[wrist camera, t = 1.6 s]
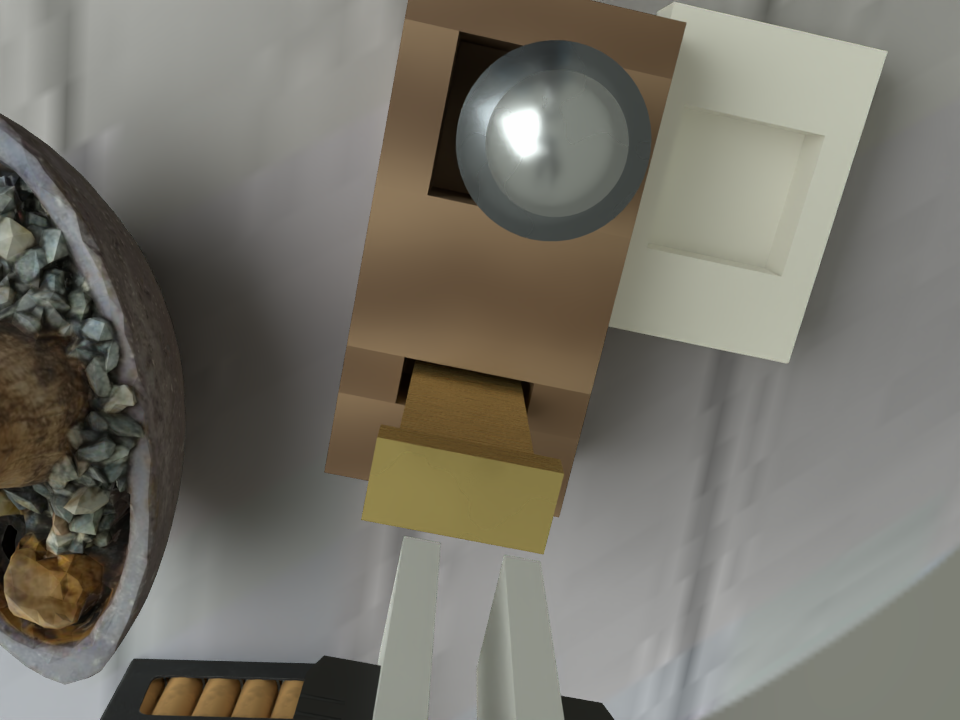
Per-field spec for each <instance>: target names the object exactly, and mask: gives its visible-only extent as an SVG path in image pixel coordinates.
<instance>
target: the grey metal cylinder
mask: <svg viewBox="0 0 960 720" xmlns="http://www.w3.org/2000/svg"><path fill="white" fill-rule="evenodd" d="M650 152H651V125H650V119H649V114H648V110H647V107H646V104H645V102H644V99H643V97H642V95H641V93H640V91H639V89H638V87H637V86H636V84H635V83H634V81H633V80H632V78H631V77H630V76H629V74H628V73H627V72H626V71H625V70H624V69H623V68H622V67H621V66H620V65H619V64H618V63H617V62H616V61H614V60H613V59H612V58H610V57H609V56H607V55H606V54H604V53H603V52H601V51H599V50H597V49H595V48H592V47H590V46H587V45H584V44H581V43H577V42H572V41H565V40H547V41H539V42H535V43H531V44H527V45H524V46H522V47H519V48H517V49H514V50H512V51H510V52H509V53H507V54H505V55H504V56H502V57H500V58H499V59H498V60H497V61H495V62H494V63H493V64H492V65H490V66H489V67H488V68H487V69H486V70H485V71H484V72H483V73H482V74H481V76H480V77H479V78H478V80H477V81H476V82H475V84H474V85H473V86H472V88H471V90H470V92H469V94H468V95H467V97H466V99H465V102H464V104H463V107H462V109H461V113H460V116H459V120H458V125H457V133H456V153H457V161H458V166H459V170H460V173H461V176H462V179H463V181H464V184H465V186H466V188H467V190H468V192H469V194H470V196H471V197H472V199H473V200H474V202H475V203H476V204H477V206H478V207H479V208H480V209H481V210H482V211H483V212H484V213H485V214H486V215H487V216H488V217H489V218H490V219H491V220H492V221H494V222H495V223H496V224H497V225H499V226H501V227H502V228H504V229H506V230H507V231H509V232H511V233H514V234H516V235H518V236H521V237H525V238H528V239H532V240H539V241H564V240H571V239H575V238H578V237H582V236H584V235H587V234H589V233H592V232H594V231H596V230H598V229H599V228H601V227H603V226H605V225H606V224H607V223H609V222H610V221H611V220H613V219H614V218H615V217H616V216H617V215H618V214H619V213H621V212H622V211H623V210H624V208H625V207H626V206H627V205H628V204H629V202H630V201H631V200H632V198H633V197H634V195H635V194H636V192H637V190H638V189H639V187H640V185H641V183H642V180H643V178H644V176H645V173H646V170H647V167H648V163H649V158H650Z"/></svg>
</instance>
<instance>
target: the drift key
mask: <svg viewBox="0 0 960 720" xmlns="http://www.w3.org/2000/svg"><path fill="white" fill-rule="evenodd" d="M563 476H564V471H563V467H562V463H561V459H556V458H551V457H546V456H541V455H536V454H534V452H533V447H532V441H531V435H530V430H529V424H528V419H527V413H526V408H525V402H524V397H523V391H522V386H521V381H519V380H514V379H509V378H505V377H500V376H495V375H490V374H485V373H480V372H475V371H470V370H465V369H460V368H455V367H450V366H445V365H440V364H435V363H430V362H425V361H420V360H415V364H414V369H413V373H412V377H411V382H410V386H409V390H408V395H407V399H406V403H405V408H404V412H403V416H402V420H401V425H400V428H398V427H393V426H388V425H383V424H381V426H380V429H379V433H378V436H377V441H376V446H375V451H374V456H373V461H372V466H371V472H370V477H369V482H368V487H367V492H366V498H365V503H364V508H363V513H362V518H361V520H364V521H370V522H375V523H380V524H386V525H391V526H396V527H402V528H407V529H412V530H417V531H423V532H428V533H433V534H439V535H444V536H449V537H454V538H460V539H465V540H470V541H476V542H481V543H486V544H491V545H497V546H502V547H507V548H513V549H518V550H523V551H529V552H534V553H539V554H544V550H545V547H546V543H547V539H548V535H549V531H550V527H551V523H552V519H553V515H554V511H555V508H556V504H557V500H558V496H559V492H560V488H561V484H562V480H563Z"/></svg>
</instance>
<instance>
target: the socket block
mask: <svg viewBox="0 0 960 720" xmlns="http://www.w3.org/2000/svg"><path fill="white" fill-rule="evenodd" d="M686 24H687V23H686V22H682V21H678V20H673V19H669V18H665V17H661V16H656V15H652V14H648V13H643V12H639V11H635V10H630V9H626V8H622V7H617V6H613V5H609V4H604V3H600V2H596V1H591V0H408V4H407V10H406V15H405V21H404V26H403V32H402V38H401V43H400V49H399V55H398V60H397V66H396V71H395V77H394V83H393V88H392V94H391V100H390V105H389V111H388V116H387V122H386V128H385V133H384V139H383V145H382V150H381V156H380V161H379V167H378V173H377V178H376V184H375V190H374V195H373V201H372V206H371V212H370V218H369V223H368V229H367V235H366V240H365V246H364V252H363V257H362V263H361V268H360V274H359V280H358V285H357V291H356V297H355V302H354V308H353V313H352V319H351V325H350V330H349V336H348V342H347V347H346V353H345V358H344V364H343V370H342V375H341V381H340V387H339V392H338V398H337V403H336V409H335V415H334V420H333V426H332V432H331V437H330V443H329V448H328V454H327V460H326V465H325V471H324V472H325V473H330V474H336V475H341V476H346V477H351V478H356V479H362V480H367V481H369V477H370V472H371V466H372V461H373V456H374V451H375V446H376V441H377V436H378V433H379V429H380V426H381V424H383V425H388V426H393V427H398V428H400V425H401V420H402V416H403V412H404V408H405V403H406V399H407V395H408V390H409V386H410V382H411V377H412V373H413V369H414V364H415V360H420V361H425V362H430V363H435V364H440V365H445V366H450V367H455V368H460V369H465V370H470V371H475V372H480V373H485V374H490V375H495V376H500V377H505V378H509V379H514V380H519V381H521V386H522V391H523V397H524V402H525V408H526V413H527V419H528V424H529V430H530V435H531V441H532V447H533V452H534V454H536V455H541V456H546V457H551V458H556V459H561V463H562V467H563V471H564V476H563V480H562V484H561V488H560V492H559V496H558V500H557V504H556V508H555V511H554V515H553V516H554V517H559V515H560V511H561V507H562V504H563V500H564V496H565V492H566V488H567V484H568V480H569V477H570V473H571V469H572V465H573V461H574V457H575V453H576V449H577V446H578V442H579V438H580V434H581V430H582V426H583V422H584V418H585V415H586V411H587V407H588V403H589V399H590V395H591V391H592V387H593V384H594V380H595V376H596V372H597V368H598V364H599V360H600V357H601V353H602V349H603V345H604V341H605V337H606V333H607V329H608V326H609V322H610V318H611V314H612V310H613V306H614V302H615V298H616V295H617V291H618V287H619V283H620V279H621V275H622V271H623V267H624V264H625V260H626V256H627V252H628V248H629V244H630V240H631V236H632V233H633V229H634V225H635V221H636V217H637V213H638V209H639V206H640V202H641V198H642V194H643V190H644V186H645V182H646V178H647V175H648V171H649V167H650V163H651V159H652V155H653V151H654V147H655V144H656V140H657V136H658V132H659V128H660V124H661V120H662V116H663V113H664V109H665V105H666V101H667V97H668V93H669V89H670V86H671V82H672V78H673V74H674V70H675V66H676V62H677V58H678V55H679V51H680V47H681V43H682V39H683V35H684V31H685V27H686ZM547 40H565V41H572V42H577V43H581V44H584V45H587V46H590V47H592V48H595V49H597V50H599V51H601V52H603V53H604V54H606V55H607V56H609V57H610V58H612V59H613V60H614V61H616V62H617V63H618V64H619V65H620V66H621V67H622V68H623V69H624V70H625V71H626V72H627V73H628V74H629V76H630V77H631V78H632V80H633V81H634V83H635V84H636V86H637V87H638V89H639V91H640V93H641V95H642V97H643V99H644V102H645V104H646V107H647V110H648V114H649V119H650V125H651V152H650V158H649V163H648V167H647V170H646V173H645V176H644V178H643V180H642V183H641V185H640V187H639V189H638V190H637V192H636V194H635V195H634V197H633V198H632V200H631V201H630V202H629V204H628V205H627V206H626V207H625V208H624V210H623V211H622V212H621V213H619V214H618V215H617V216H616V217H615V218H614V219H613V220H611V221H610V222H609V223H607V224H606V225H605V226H603V227H601V228H599V229H598V230H596V231H594V232H592V233H589V234H587V235H584V236H582V237H578V238H575V239H571V240H564V241H539V240H532V239H528V238H525V237H521V236H518V235H516V234H514V233H511V232H509V231H507V230H506V229H504V228H502V227H501V226H499V225H497V224H496V223H495V222H494V221H492V220H491V219H490V218H489V217H488V216H487V215H486V214H485V213H484V212H483V211H482V210H481V209H480V208H479V207H478V206H477V204H476V203H475V202H474V200H473V199H472V197H471V196H470V194H469V192H468V190H467V188H466V186H465V184H464V181H463V179H462V176H461V173H460V170H459V166H458V161H457V153H456V133H457V125H458V120H459V116H460V113H461V109H462V107H463V104H464V102H465V99H466V97H467V95H468V94H469V92H470V90H471V88H472V86H473V85H474V84H475V82H476V81H477V80H478V78H479V77H480V76H481V74H482V73H483V72H484V71H485V70H486V69H487V68H488V67H489V66H490V65H492V64H493V63H494V62H495V61H497V60H498V59H499V58H500V57H502V56H504V55H505V54H507V53H509V52H510V51H512V50H514V49H517V48H519V47H522V46H524V45H527V44H531V43H535V42H539V41H547Z"/></svg>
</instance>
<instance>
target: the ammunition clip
mask: <svg viewBox="0 0 960 720" xmlns="http://www.w3.org/2000/svg"><path fill="white" fill-rule="evenodd" d="M314 665H315V664H307V663H270V662H234V661H198V660H162V659H133V660H132V662H131V664H130V665H129V667H128V669H127V671H126V673H125V675H124V676H123V678H122V680H121V682H120V684H119V686H118V687H117V689H116V691H115V693H114V695H113V697H112V699H111V700H110V702H109V704H108V706H107V708H106V710H105V711H104V713H103V715H102V717H101V719H100V720H293V716H294V714H295V710H296V706H297V703H298V700H299V697H300V693H301V690H302V686H303V683H304V679H305V676H306V673H307V671H308V670H309V669H310V668H312V667H313V666H314Z"/></svg>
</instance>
